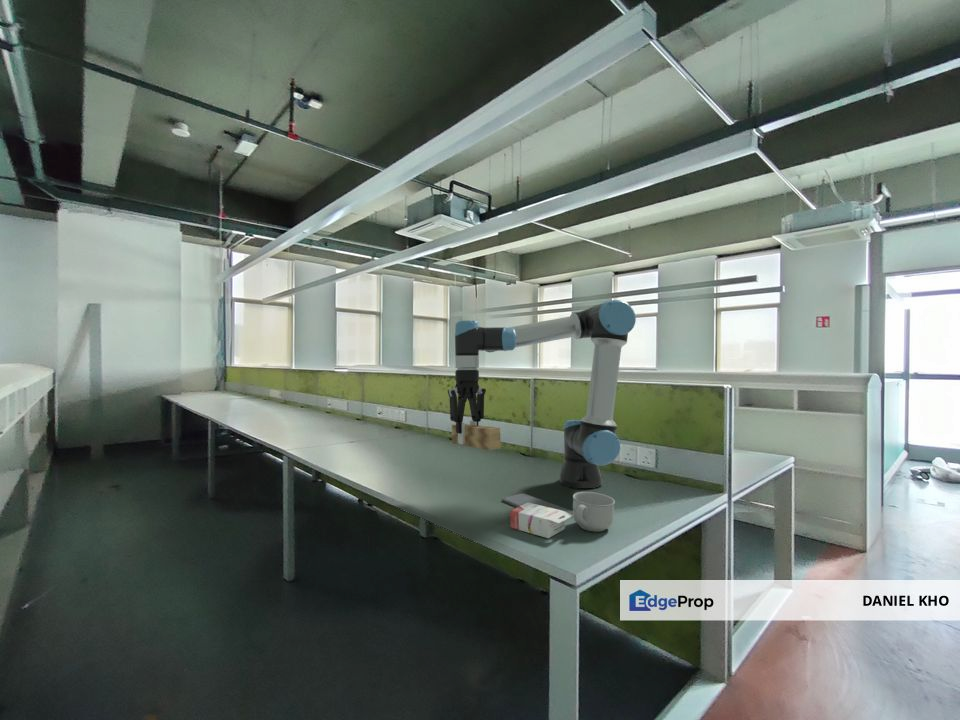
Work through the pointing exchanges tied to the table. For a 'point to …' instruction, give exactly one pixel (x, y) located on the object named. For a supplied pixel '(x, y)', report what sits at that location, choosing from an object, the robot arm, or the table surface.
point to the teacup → (593, 510)
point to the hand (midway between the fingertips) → (467, 442)
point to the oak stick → (479, 437)
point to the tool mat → (524, 498)
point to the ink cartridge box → (538, 519)
